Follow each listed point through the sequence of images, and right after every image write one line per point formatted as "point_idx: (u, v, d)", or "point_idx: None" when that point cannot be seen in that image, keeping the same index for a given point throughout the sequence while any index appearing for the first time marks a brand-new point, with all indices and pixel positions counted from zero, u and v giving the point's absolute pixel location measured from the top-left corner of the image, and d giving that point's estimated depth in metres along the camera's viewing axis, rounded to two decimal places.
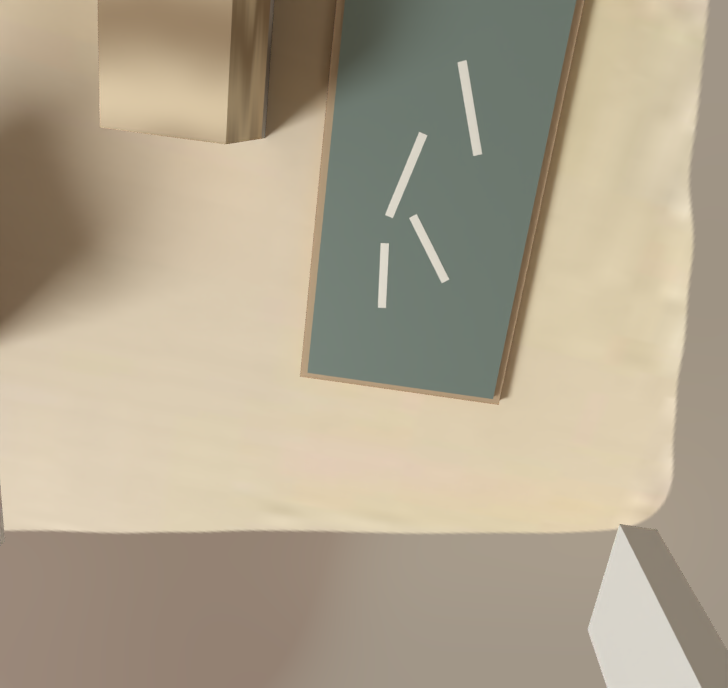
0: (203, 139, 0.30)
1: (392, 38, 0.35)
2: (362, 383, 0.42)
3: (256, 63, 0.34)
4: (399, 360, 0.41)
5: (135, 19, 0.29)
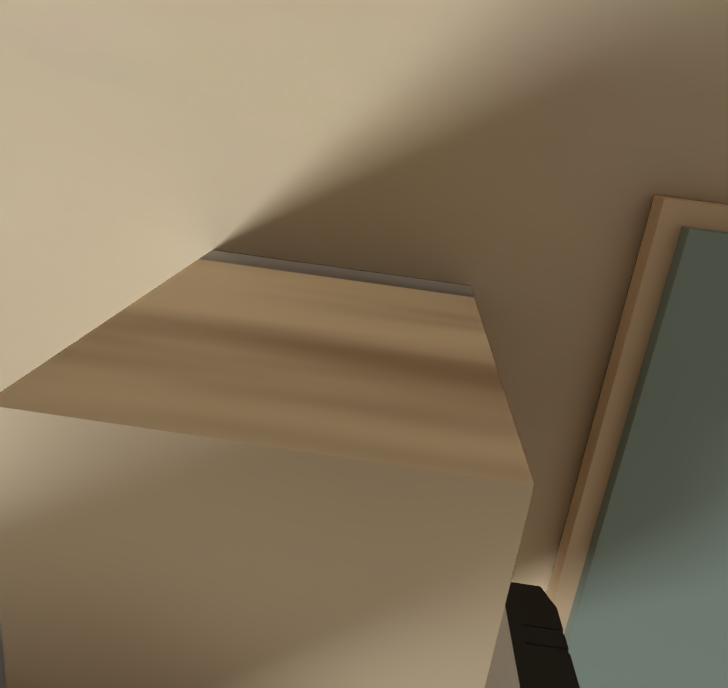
0: None
1: None
2: None
3: None
4: None
5: None
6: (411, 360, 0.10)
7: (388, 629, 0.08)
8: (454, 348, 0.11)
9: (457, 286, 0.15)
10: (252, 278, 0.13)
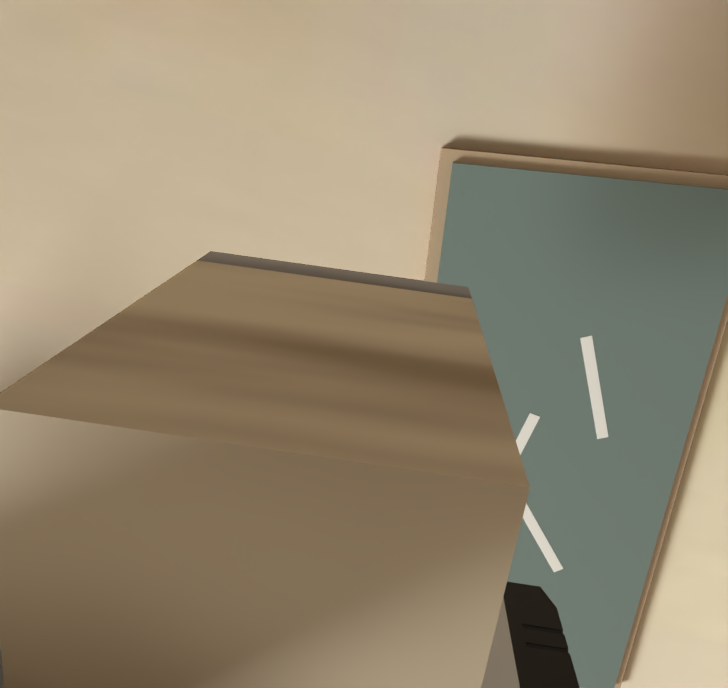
0: None
1: (498, 312, 0.28)
2: None
3: None
4: None
5: None
6: (408, 362, 0.10)
7: (385, 631, 0.08)
8: (452, 350, 0.11)
9: (455, 287, 0.15)
10: (250, 279, 0.13)
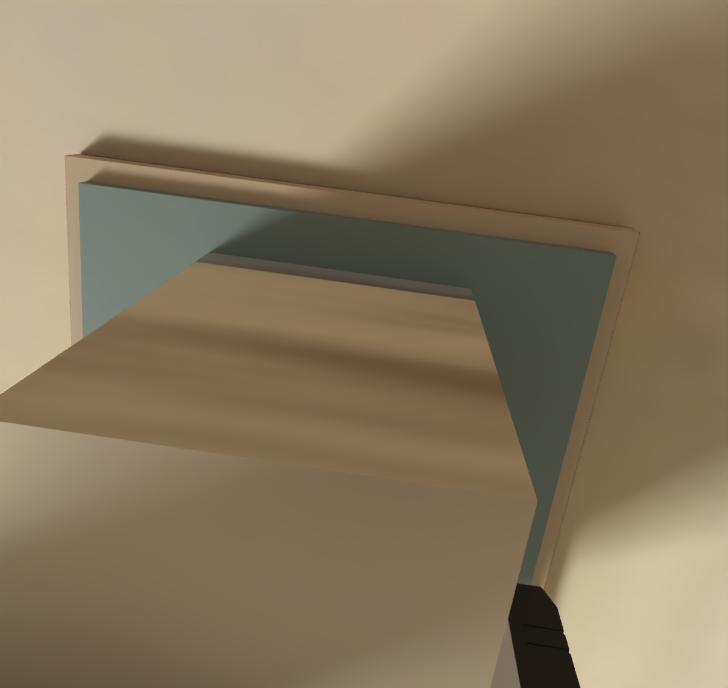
0: None
1: None
2: None
3: None
4: None
5: None
6: (411, 367, 0.10)
7: (386, 646, 0.07)
8: (455, 354, 0.10)
9: (458, 289, 0.14)
10: (249, 281, 0.13)
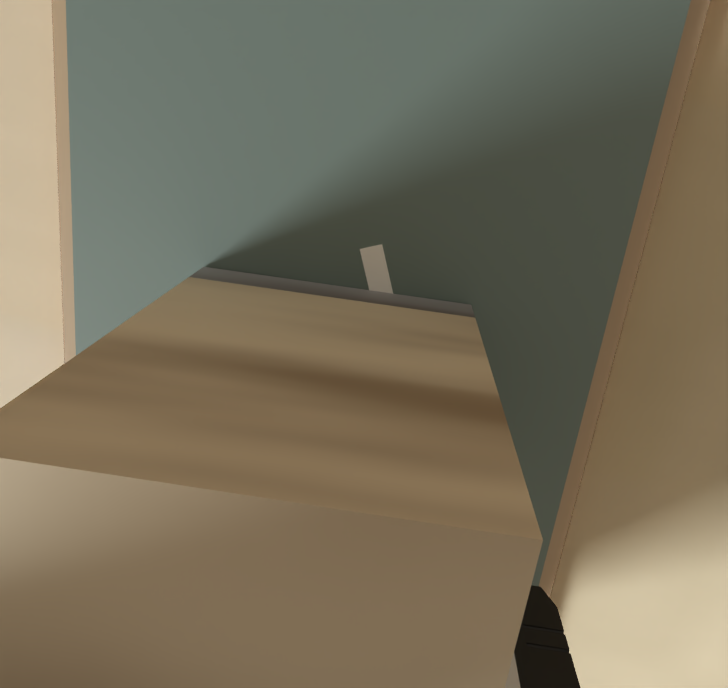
0: None
1: (196, 191, 0.14)
2: None
3: None
4: None
5: None
6: (409, 391, 0.09)
7: None
8: (455, 376, 0.10)
9: (458, 305, 0.14)
10: (244, 298, 0.13)
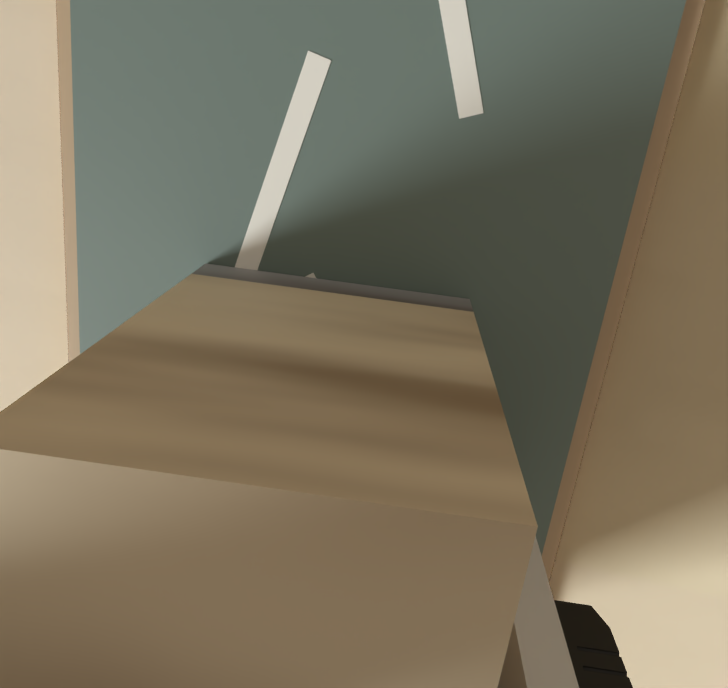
0: None
1: None
2: None
3: None
4: None
5: None
6: (408, 384, 0.10)
7: (385, 673, 0.07)
8: (454, 370, 0.10)
9: (456, 300, 0.14)
10: (246, 294, 0.13)
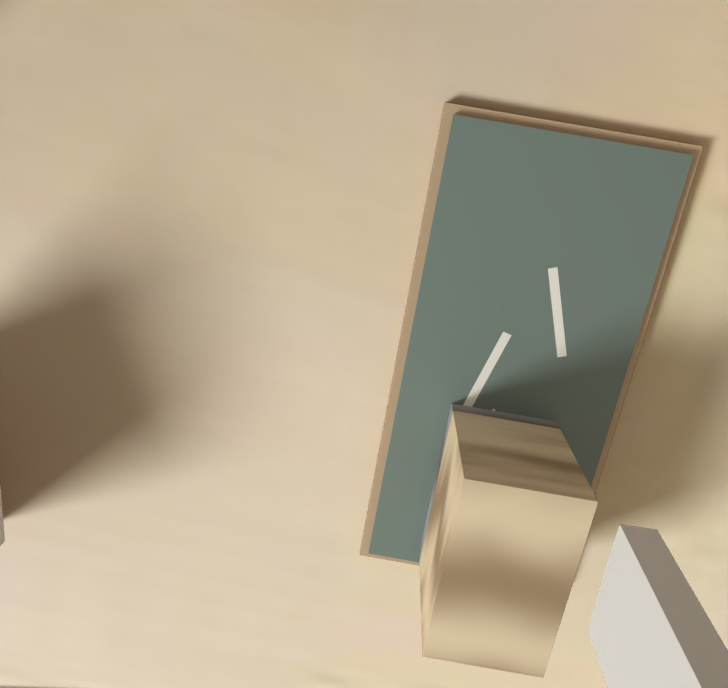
0: (522, 672, 0.32)
1: (482, 242, 0.34)
2: None
3: None
4: None
5: (476, 581, 0.30)
6: (552, 462, 0.32)
7: (557, 538, 0.29)
8: (563, 456, 0.33)
9: (551, 422, 0.37)
10: (479, 422, 0.35)
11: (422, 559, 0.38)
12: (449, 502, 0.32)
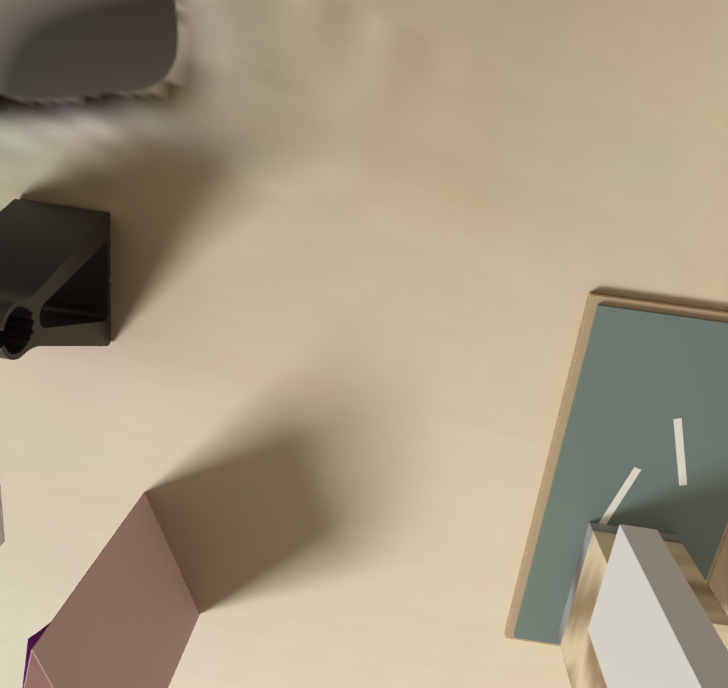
0: None
1: (619, 400, 0.42)
2: None
3: None
4: None
5: None
6: None
7: None
8: (694, 577, 0.40)
9: (673, 535, 0.44)
10: None
11: (565, 646, 0.46)
12: None
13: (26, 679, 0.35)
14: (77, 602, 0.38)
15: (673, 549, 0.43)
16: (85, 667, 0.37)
